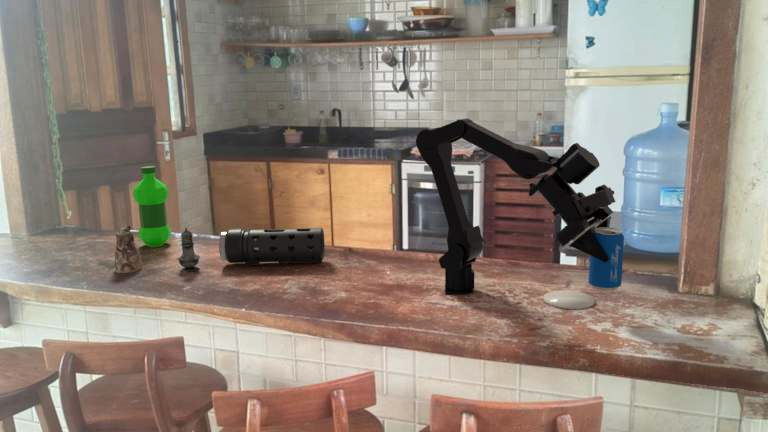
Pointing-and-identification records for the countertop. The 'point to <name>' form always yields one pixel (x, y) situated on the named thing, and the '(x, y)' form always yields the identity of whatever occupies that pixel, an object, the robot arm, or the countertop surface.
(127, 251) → the figurine
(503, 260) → the countertop surface
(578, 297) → the white round disc
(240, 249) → the muzzle brake
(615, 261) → the beverage can
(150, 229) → the plastic bottle
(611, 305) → the countertop surface
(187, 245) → the salt shaker
